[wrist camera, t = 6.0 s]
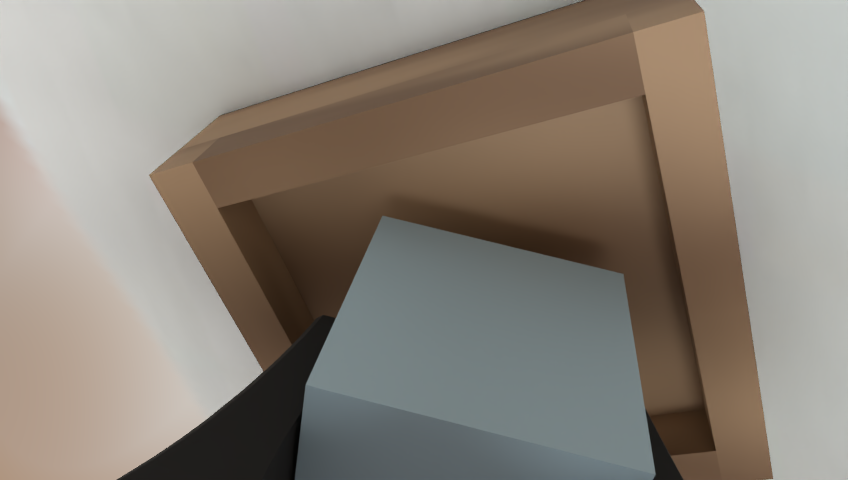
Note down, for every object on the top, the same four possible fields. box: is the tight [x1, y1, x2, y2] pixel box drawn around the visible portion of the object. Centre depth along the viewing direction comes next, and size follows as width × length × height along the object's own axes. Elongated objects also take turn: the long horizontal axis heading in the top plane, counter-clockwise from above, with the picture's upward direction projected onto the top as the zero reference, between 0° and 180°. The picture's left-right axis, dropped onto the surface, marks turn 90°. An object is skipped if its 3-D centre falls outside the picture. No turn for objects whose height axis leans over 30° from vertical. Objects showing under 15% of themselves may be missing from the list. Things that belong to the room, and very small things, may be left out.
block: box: [295, 216, 656, 480], centre depth 11 cm, size 4×4×4 cm
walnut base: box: [149, 0, 773, 480], centre depth 15 cm, size 10×10×3 cm
